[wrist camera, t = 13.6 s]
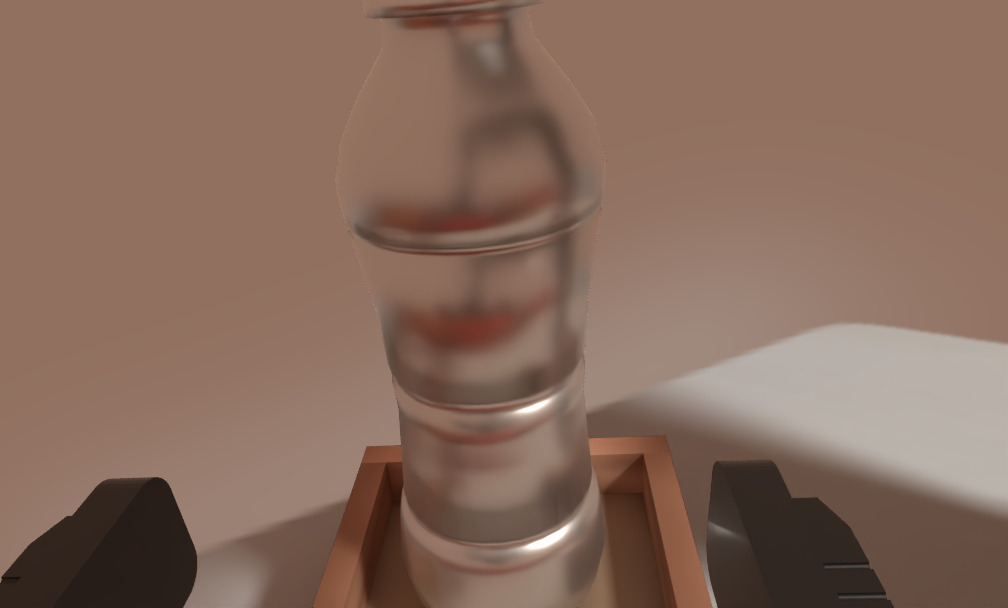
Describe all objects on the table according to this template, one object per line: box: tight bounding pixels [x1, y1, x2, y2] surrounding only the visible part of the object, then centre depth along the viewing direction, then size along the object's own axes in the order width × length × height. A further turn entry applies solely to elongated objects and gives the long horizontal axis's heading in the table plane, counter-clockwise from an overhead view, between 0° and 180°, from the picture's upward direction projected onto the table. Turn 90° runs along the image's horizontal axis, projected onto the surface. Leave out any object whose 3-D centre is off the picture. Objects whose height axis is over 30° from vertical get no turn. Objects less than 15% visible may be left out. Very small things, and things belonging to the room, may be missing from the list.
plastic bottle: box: [335, 0, 607, 608], centre depth 18 cm, size 6×7×20 cm
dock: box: [312, 436, 712, 608], centre depth 24 cm, size 12×9×5 cm
